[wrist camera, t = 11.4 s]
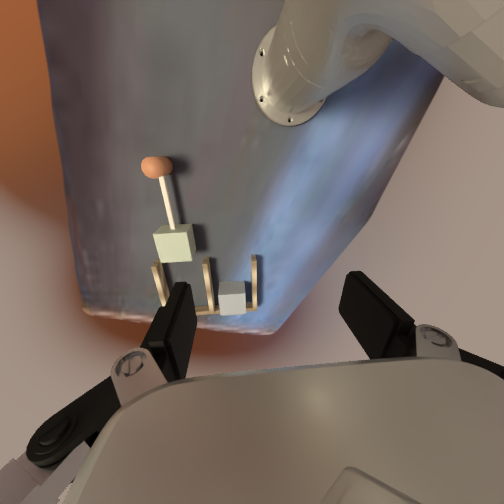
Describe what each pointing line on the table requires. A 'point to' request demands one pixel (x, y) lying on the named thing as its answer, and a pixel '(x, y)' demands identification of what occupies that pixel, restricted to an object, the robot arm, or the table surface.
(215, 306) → the lane rack
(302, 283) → the table surface
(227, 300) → the blue-grey block
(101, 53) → the table surface
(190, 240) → the knob-topped lever
